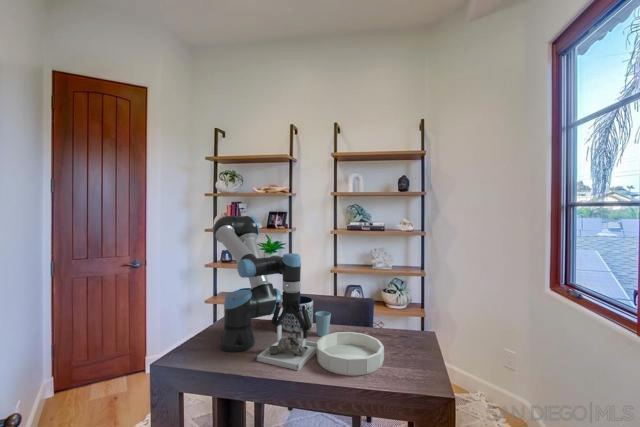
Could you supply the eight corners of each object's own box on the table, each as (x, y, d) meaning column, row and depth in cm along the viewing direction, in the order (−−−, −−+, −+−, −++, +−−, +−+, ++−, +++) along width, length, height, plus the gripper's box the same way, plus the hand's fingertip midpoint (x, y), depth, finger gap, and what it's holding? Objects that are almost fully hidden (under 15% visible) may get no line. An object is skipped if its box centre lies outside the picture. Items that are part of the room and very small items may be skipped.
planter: (317, 324, 166) (317, 297, 166) (304, 335, 151) (304, 305, 151) (291, 320, 172) (291, 294, 172) (276, 329, 158) (276, 301, 158)
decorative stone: (266, 356, 125) (269, 329, 128) (272, 352, 134) (274, 327, 137) (305, 360, 123) (307, 333, 126) (308, 355, 132) (310, 331, 135)
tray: (256, 360, 124) (256, 355, 124) (284, 340, 144) (284, 336, 144) (298, 370, 117) (298, 365, 117) (321, 347, 137) (321, 343, 137)
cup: (333, 336, 150) (333, 314, 150) (318, 339, 147) (318, 316, 147) (326, 331, 157) (326, 310, 157) (312, 333, 154) (312, 312, 154)
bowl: (306, 366, 119) (306, 351, 119) (331, 341, 144) (331, 328, 144) (373, 382, 109) (373, 364, 109) (388, 352, 133) (388, 338, 133)
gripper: (263, 289, 132) (262, 342, 131) (312, 295, 122) (312, 351, 122) (272, 286, 139) (272, 335, 138) (320, 291, 129) (319, 344, 129)
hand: (290, 343), depth 130 cm, fingers open, 11 cm apart
